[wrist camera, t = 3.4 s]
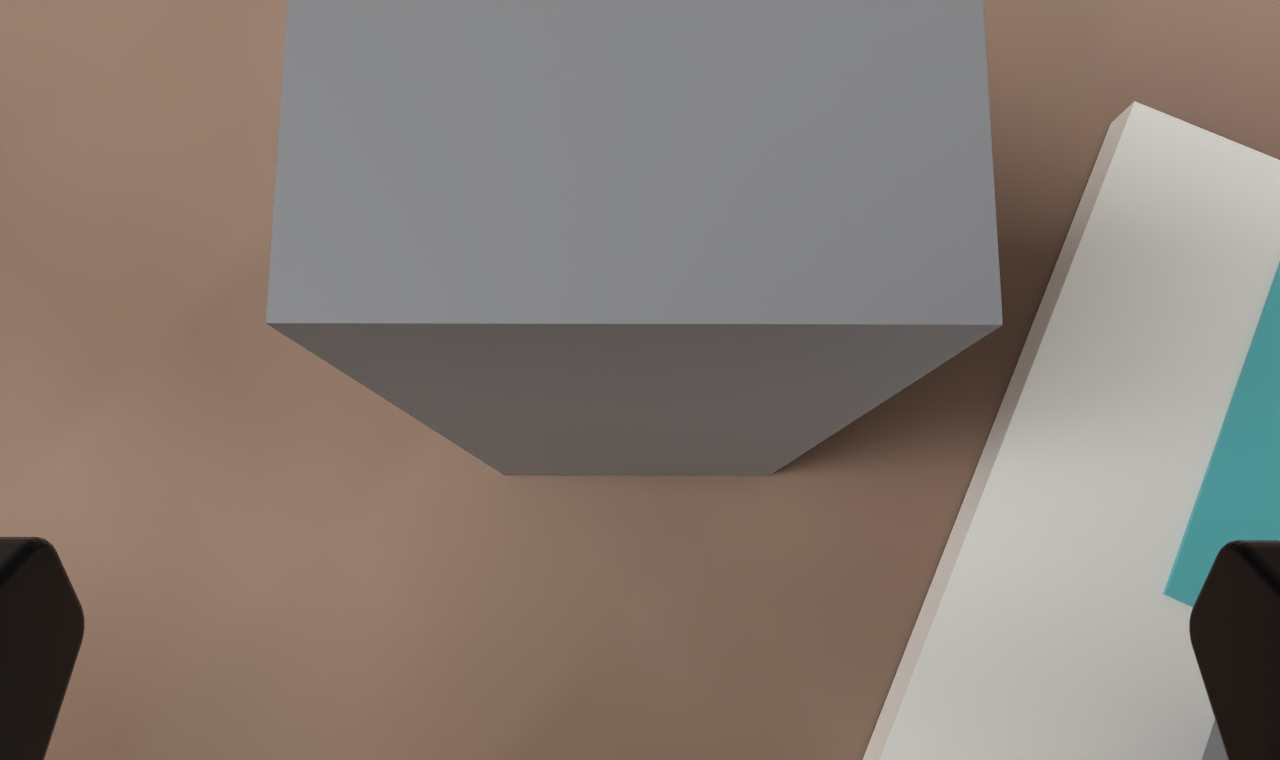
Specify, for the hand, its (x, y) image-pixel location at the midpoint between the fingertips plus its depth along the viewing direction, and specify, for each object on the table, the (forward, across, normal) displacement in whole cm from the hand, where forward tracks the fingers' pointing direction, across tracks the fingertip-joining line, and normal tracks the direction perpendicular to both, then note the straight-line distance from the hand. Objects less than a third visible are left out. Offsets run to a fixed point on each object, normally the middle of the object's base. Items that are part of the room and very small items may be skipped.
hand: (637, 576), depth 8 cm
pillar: (+11, 0, +5) cm, 12 cm away
